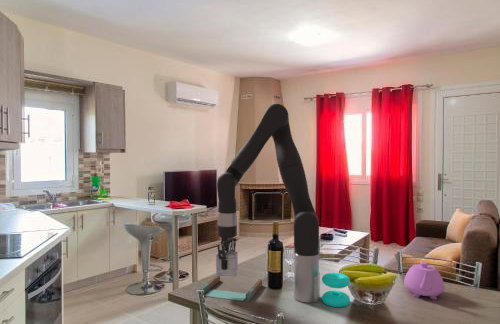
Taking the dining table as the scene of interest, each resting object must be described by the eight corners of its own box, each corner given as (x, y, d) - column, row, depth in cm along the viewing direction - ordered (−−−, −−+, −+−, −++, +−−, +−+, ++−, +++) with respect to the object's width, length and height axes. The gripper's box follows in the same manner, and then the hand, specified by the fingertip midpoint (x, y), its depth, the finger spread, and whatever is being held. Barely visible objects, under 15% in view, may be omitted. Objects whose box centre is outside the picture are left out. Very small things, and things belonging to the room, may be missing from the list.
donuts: (355, 278, 131) (331, 281, 128) (355, 306, 131) (331, 310, 128) (339, 270, 140) (316, 273, 137) (339, 296, 141) (316, 299, 137)
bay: (262, 285, 152) (262, 279, 152) (248, 301, 135) (248, 295, 135) (217, 280, 158) (217, 274, 158) (199, 295, 141) (199, 289, 141)
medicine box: (237, 273, 144) (237, 251, 144) (236, 277, 139) (236, 254, 139) (218, 272, 145) (218, 250, 144) (215, 276, 140) (216, 253, 140)
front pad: (249, 294, 142) (249, 293, 142) (243, 301, 136) (243, 300, 136) (211, 289, 147) (211, 289, 147) (204, 296, 141) (204, 295, 141)
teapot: (449, 307, 130) (449, 272, 129) (406, 302, 134) (406, 268, 134) (440, 288, 149) (440, 258, 148) (402, 284, 153) (402, 255, 153)
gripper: (229, 228, 134) (229, 274, 134) (242, 221, 147) (242, 263, 148) (210, 226, 136) (210, 272, 136) (225, 220, 150) (225, 261, 150)
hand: (227, 267), depth 142 cm, fingers closed on medicine box, 5 cm apart
